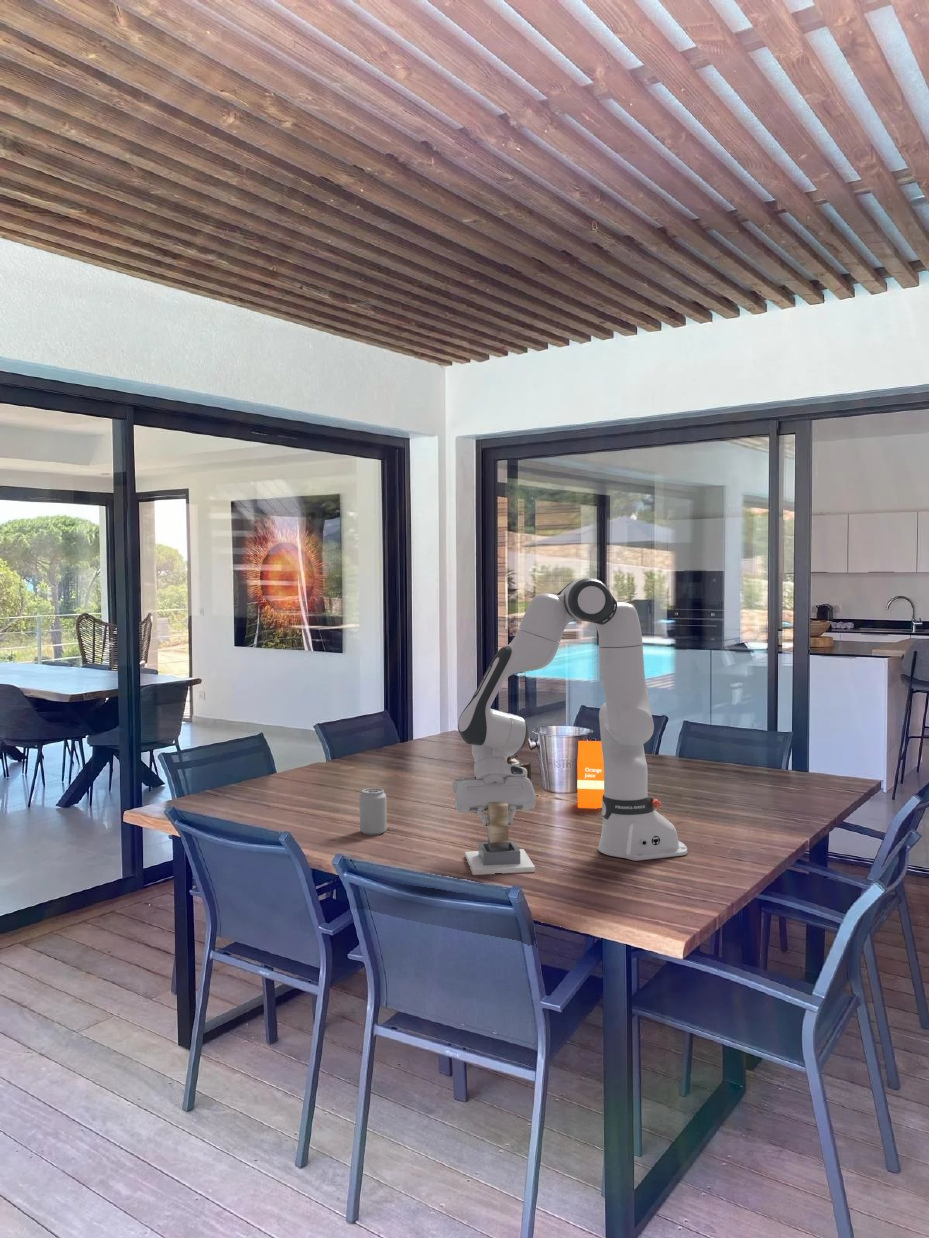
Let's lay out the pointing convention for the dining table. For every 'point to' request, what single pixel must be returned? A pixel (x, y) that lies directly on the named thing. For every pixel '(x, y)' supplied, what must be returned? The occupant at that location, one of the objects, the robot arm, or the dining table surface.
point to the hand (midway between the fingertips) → (498, 824)
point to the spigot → (498, 826)
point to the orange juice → (590, 774)
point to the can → (373, 811)
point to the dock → (499, 860)
